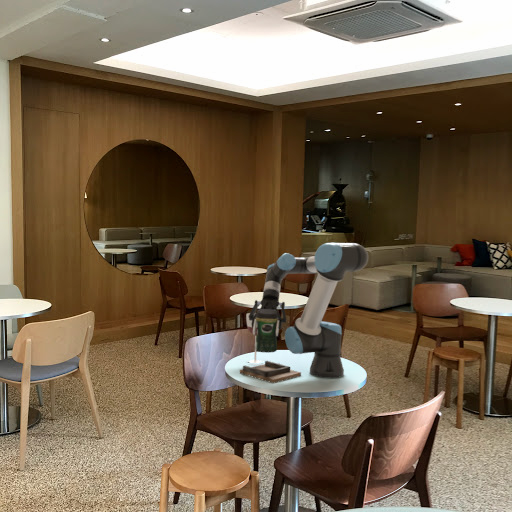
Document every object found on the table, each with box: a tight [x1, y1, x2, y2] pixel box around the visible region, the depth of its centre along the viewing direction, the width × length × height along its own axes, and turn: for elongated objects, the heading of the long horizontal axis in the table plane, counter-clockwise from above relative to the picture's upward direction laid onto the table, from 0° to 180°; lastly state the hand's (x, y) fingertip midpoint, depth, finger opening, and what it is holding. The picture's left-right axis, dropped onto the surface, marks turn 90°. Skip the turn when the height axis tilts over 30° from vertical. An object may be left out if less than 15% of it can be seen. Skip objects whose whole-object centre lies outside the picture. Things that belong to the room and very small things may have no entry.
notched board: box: [239, 360, 302, 384], centre depth 249 cm, size 20×18×4 cm
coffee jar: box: [254, 308, 278, 353], centre depth 249 cm, size 10×8×19 cm
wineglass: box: [245, 312, 262, 363], centre depth 270 cm, size 9×10×23 cm
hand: (265, 333), depth 246 cm, fingers closed on coffee jar, 9 cm apart
